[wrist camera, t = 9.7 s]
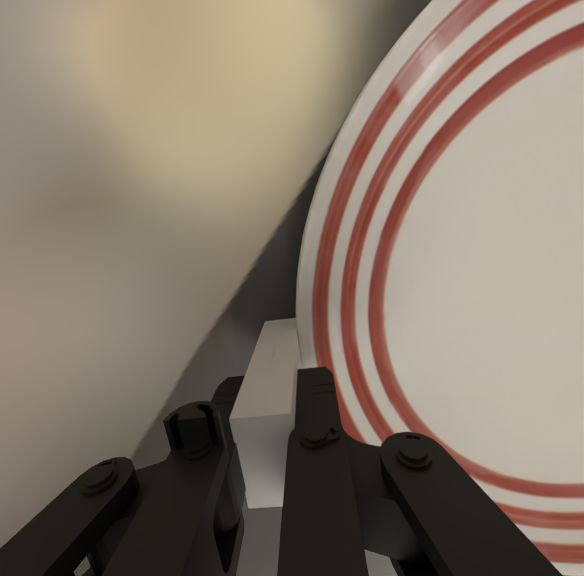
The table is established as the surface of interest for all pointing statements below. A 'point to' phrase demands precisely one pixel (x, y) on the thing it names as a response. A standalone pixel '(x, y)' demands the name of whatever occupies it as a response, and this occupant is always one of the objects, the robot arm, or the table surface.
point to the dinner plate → (463, 256)
